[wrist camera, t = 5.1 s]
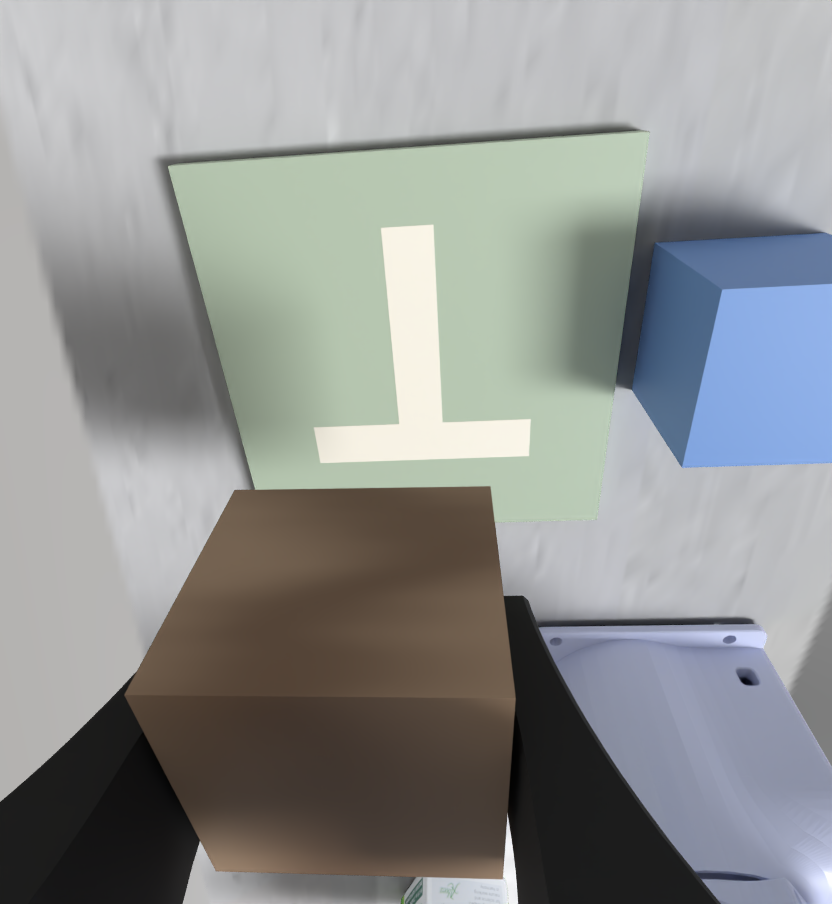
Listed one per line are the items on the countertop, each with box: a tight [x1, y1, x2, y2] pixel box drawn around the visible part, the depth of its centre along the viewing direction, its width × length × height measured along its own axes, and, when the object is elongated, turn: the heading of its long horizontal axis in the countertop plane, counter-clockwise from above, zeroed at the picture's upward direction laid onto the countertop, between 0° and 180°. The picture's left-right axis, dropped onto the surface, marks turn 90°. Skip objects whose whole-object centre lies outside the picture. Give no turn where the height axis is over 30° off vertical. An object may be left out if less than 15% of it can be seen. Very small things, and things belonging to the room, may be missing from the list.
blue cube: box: [632, 233, 832, 468], centre depth 15 cm, size 4×4×4 cm
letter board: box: [168, 130, 650, 522], centre depth 17 cm, size 12×12×1 cm
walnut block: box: [124, 486, 516, 879], centre depth 10 cm, size 5×5×4 cm
